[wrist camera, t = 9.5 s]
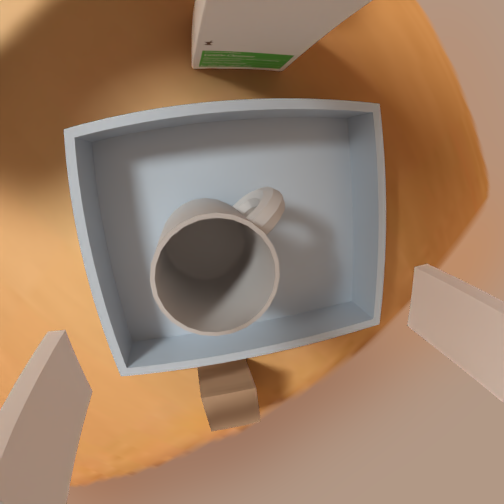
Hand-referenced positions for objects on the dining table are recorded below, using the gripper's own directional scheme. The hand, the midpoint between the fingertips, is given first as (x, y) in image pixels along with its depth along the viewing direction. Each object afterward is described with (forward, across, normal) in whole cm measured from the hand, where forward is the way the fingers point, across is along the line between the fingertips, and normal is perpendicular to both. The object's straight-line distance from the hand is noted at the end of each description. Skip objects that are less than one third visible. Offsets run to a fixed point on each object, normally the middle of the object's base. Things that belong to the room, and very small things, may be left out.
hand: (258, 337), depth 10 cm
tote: (+17, +2, 0) cm, 17 cm away
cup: (+16, 0, 0) cm, 16 cm away
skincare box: (+17, +4, +17) cm, 24 cm away
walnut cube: (+17, -1, -16) cm, 23 cm away
